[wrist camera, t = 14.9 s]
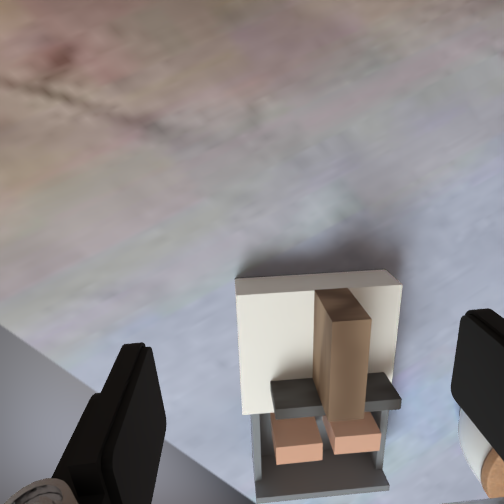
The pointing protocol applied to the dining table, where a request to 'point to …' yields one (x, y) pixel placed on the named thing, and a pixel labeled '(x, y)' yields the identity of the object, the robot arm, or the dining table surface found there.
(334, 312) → the scraper
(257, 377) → the board
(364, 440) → the tile
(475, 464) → the lidded bowl
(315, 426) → the tile
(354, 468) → the tray
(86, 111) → the dining table surface
